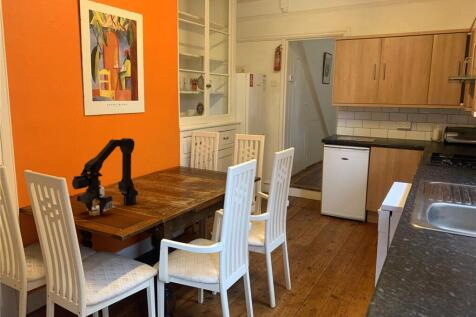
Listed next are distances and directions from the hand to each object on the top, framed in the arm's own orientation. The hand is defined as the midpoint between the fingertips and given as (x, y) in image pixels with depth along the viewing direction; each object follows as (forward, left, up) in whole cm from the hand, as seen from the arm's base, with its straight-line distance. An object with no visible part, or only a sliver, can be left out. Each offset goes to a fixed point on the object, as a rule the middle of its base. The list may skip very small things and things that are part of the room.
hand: (95, 214), depth 195 cm
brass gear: (0, 0, -1) cm, 1 cm away
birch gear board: (+4, -9, -1) cm, 10 cm away
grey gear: (+1, -11, 0) cm, 11 cm away
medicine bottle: (+23, -29, -1) cm, 37 cm away
